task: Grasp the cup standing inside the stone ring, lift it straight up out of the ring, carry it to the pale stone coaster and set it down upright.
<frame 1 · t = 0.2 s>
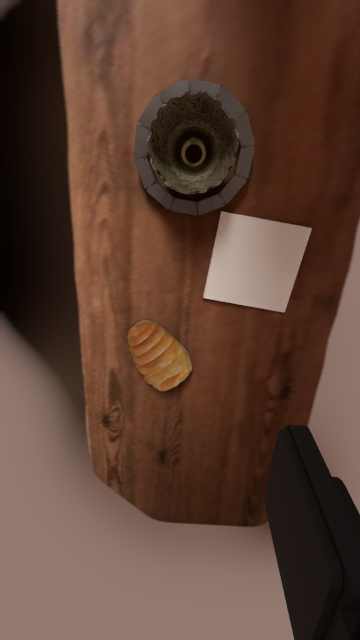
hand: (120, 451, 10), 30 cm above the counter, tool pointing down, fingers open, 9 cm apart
pastry: (159, 352, 43), on the counter
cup: (193, 154, 34), on the counter
stone ring: (193, 153, 33), on the counter
stone coaster: (253, 263, 37), on the counter
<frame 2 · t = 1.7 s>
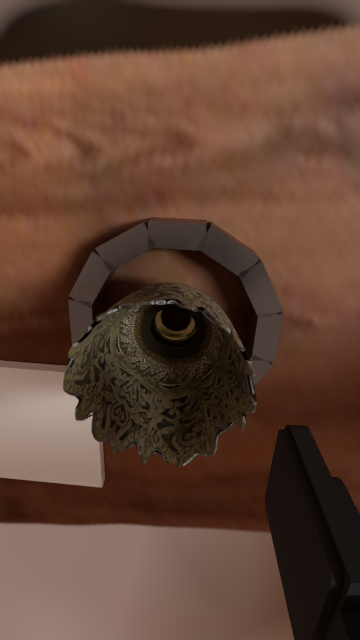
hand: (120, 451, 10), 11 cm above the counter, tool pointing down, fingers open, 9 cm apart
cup: (176, 316, 20), on the counter
stone ring: (175, 317, 20), on the counter
stone coaster: (35, 422, 24), on the counter
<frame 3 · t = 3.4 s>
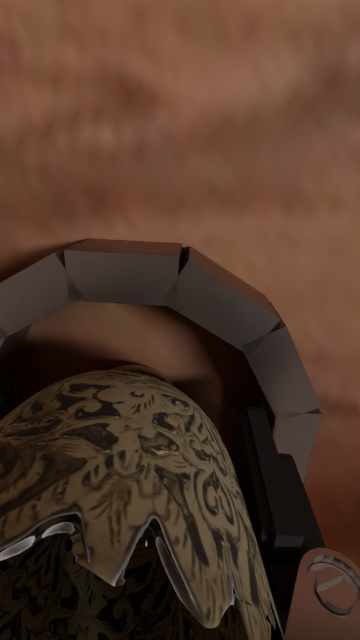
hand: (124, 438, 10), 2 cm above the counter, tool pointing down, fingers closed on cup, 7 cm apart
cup: (137, 396, 12), on the counter, touching gripper
stone ring: (136, 399, 12), on the counter
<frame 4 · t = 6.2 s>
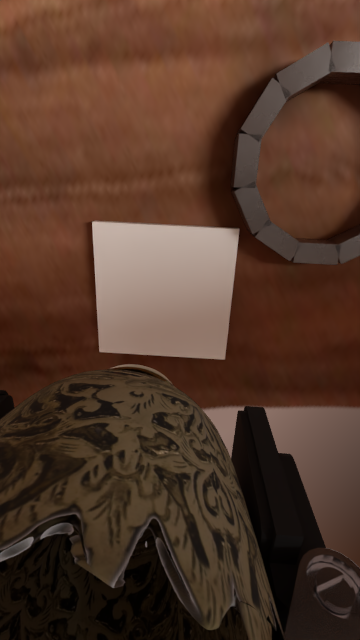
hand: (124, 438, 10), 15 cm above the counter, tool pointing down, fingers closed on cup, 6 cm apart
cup: (136, 396, 12), point 13 cm above the counter, touching gripper
stone ring: (322, 167, 21), on the counter
stone coaster: (164, 292, 24), on the counter
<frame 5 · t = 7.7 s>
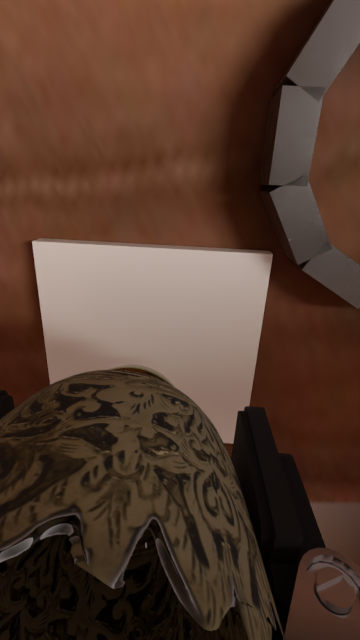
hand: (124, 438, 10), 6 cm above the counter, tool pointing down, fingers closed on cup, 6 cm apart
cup: (136, 396, 12), point 4 cm above the counter, touching gripper
stone coaster: (152, 346, 16), on the counter
when the fingers open (4 cm above the counter, at t = 9.2 s): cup drops 1 cm, resting on stone coaster.
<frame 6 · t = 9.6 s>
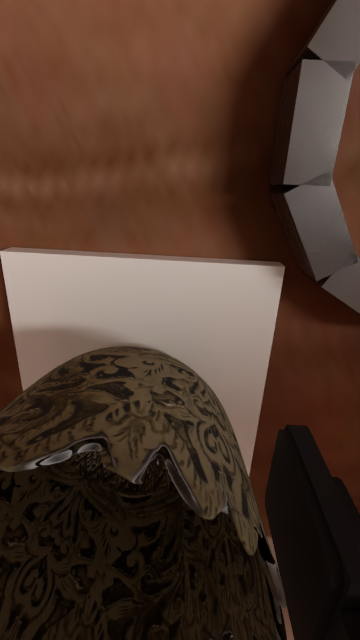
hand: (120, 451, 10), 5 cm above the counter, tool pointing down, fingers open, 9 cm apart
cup: (147, 377, 13), point 1 cm above the counter, touching stone coaster
stone coaster: (143, 370, 14), on the counter
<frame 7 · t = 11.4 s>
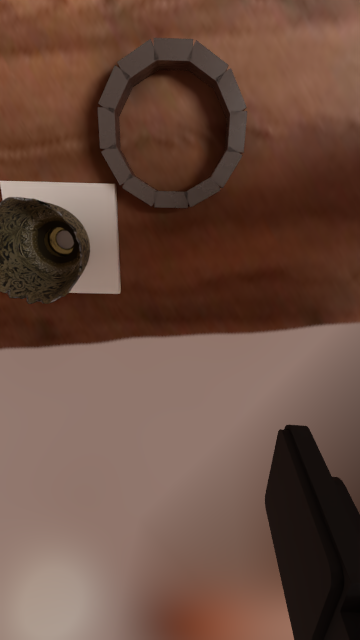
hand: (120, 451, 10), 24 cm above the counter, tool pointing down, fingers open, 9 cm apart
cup: (66, 239, 30), point 1 cm above the counter, touching stone coaster
stone ring: (172, 134, 27), on the counter
stone coaster: (66, 239, 31), on the counter
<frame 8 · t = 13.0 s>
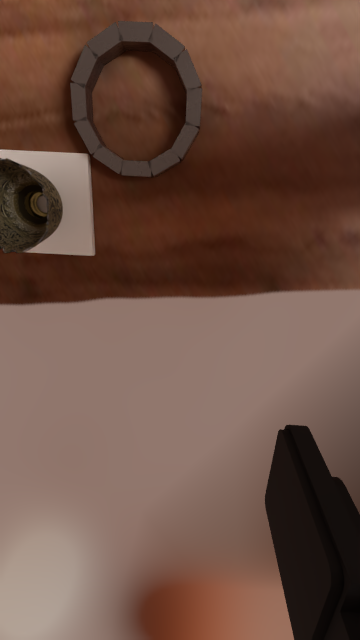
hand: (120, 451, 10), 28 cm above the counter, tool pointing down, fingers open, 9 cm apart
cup: (45, 204, 34), point 1 cm above the counter, touching stone coaster
stone ring: (139, 109, 31), on the counter
stone coaster: (46, 204, 34), on the counter
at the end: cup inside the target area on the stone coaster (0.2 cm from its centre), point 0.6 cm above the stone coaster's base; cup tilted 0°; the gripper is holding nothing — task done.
